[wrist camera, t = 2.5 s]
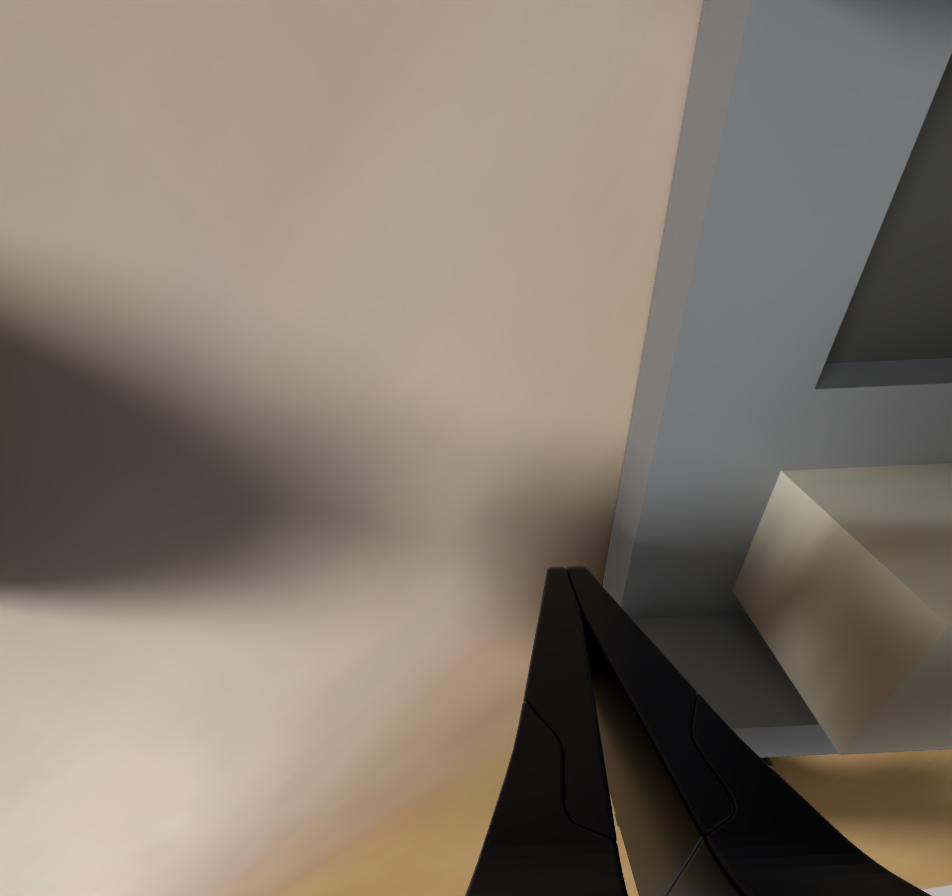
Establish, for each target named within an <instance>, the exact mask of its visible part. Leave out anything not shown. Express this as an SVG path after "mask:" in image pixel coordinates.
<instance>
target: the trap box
mask: <svg viewBox="0 0 952 896" xmlns="http://www.w3.org/2000/svg"><path fill="white" fill-rule="evenodd" d="M943 463H952V0H704V1H703V7H702V12H701V18H700V24H699V30H698V35H697V41H696V47H695V53H694V58H693V64H692V70H691V76H690V82H689V87H688V93H687V99H686V105H685V110H684V116H683V122H682V128H681V133H680V139H679V145H678V151H677V157H676V162H675V168H674V174H673V180H672V185H671V191H670V197H669V203H668V209H667V214H666V220H665V226H664V232H663V237H662V243H661V249H660V255H659V260H658V266H657V272H656V278H655V284H654V289H653V295H652V301H651V307H650V312H649V318H648V324H647V330H646V336H645V341H644V347H643V353H642V359H641V364H640V370H639V376H638V382H637V387H636V393H635V399H634V405H633V411H632V416H631V422H630V428H629V434H628V439H627V445H626V451H625V457H624V462H623V468H622V474H621V480H620V486H619V491H618V497H617V503H616V509H615V514H614V520H613V526H612V532H611V538H610V543H609V549H608V555H607V561H606V566H605V572H604V578H603V584H602V586H603V588H604V589H605V590H606V591H607V592H608V593H609V594H610V595H611V596H612V598H613V599H614V600H615V601H616V602H617V603H618V604H619V605H620V606H621V608H622V609H623V610H624V611H625V612H626V613H627V614H628V615H629V616H630V617H631V619H632V620H633V621H634V622H635V623H636V624H637V625H638V626H639V627H640V629H641V630H642V631H643V632H644V633H645V634H646V635H647V636H648V637H649V639H650V640H651V641H652V642H653V643H654V644H655V645H656V646H657V647H658V649H659V650H660V651H661V652H662V653H663V654H664V655H665V656H666V657H667V659H668V660H669V661H670V662H671V663H672V664H673V665H674V666H675V667H676V669H677V670H678V671H679V672H680V673H681V674H682V675H683V676H684V677H685V679H686V680H687V681H688V682H689V683H690V684H691V685H692V686H693V687H694V689H695V690H696V691H697V694H700V695H701V696H702V697H703V698H704V699H705V701H706V702H707V703H708V704H709V705H710V706H711V707H712V708H713V709H714V711H715V712H716V713H717V714H718V715H719V716H720V717H721V718H722V719H723V720H724V721H725V722H726V723H727V724H728V725H729V727H730V728H731V729H732V730H733V731H734V732H735V733H736V734H737V735H738V736H739V737H740V738H741V739H742V740H743V741H744V742H745V743H746V744H747V745H748V746H749V747H750V748H751V749H752V750H753V751H754V752H755V753H756V754H757V755H758V756H759V757H760V758H763V757H784V756H804V755H824V754H839V753H838V752H837V750H836V748H835V747H834V745H833V744H832V742H831V741H830V739H829V738H828V736H827V735H826V733H825V732H824V730H823V729H822V727H821V726H820V724H819V723H818V721H817V719H816V718H815V716H814V715H813V713H812V712H811V710H810V709H809V707H808V706H807V704H806V703H805V701H804V700H803V698H802V697H801V695H800V693H799V692H798V690H797V689H796V687H795V686H794V684H793V683H792V681H791V680H790V678H789V677H788V675H787V674H786V672H785V671H784V669H783V668H782V666H781V664H780V663H779V661H778V660H777V658H776V657H775V655H774V654H773V652H772V651H771V649H770V648H769V646H768V645H767V643H766V642H765V640H764V638H763V637H762V635H761V634H760V632H759V631H758V629H757V628H756V626H755V625H754V623H753V622H752V620H751V619H750V617H749V616H748V614H747V613H746V611H745V609H744V608H743V606H742V605H741V603H740V602H739V600H738V599H737V597H736V596H735V594H734V593H733V591H732V589H733V587H734V585H735V582H736V580H737V577H738V575H739V572H740V570H741V567H742V565H743V563H744V560H745V558H746V555H747V553H748V550H749V548H750V545H751V543H752V541H753V538H754V536H755V533H756V531H757V528H758V526H759V523H760V521H761V518H762V516H763V514H764V511H765V509H766V506H767V504H768V501H769V499H770V496H771V494H772V492H773V489H774V487H775V484H776V482H777V479H778V477H779V474H780V472H781V471H789V470H811V469H833V468H855V467H877V466H899V465H921V464H943ZM697 694H696V695H697Z"/></svg>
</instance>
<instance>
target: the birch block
mask: <svg viewBox="0 0 952 896" xmlns="http://www.w3.org/2000/svg"><path fill="white" fill-rule="evenodd" d="M732 591H733V593H734V594H735V596H736V597H737V599H738V600H739V602H740V603H741V605H742V606H743V608H744V609H745V611H746V613H747V614H748V616H749V617H750V619H751V620H752V622H753V623H754V625H755V626H756V628H757V629H758V631H759V632H760V634H761V635H762V637H763V638H764V640H765V642H766V643H767V645H768V646H769V648H770V649H771V651H772V652H773V654H774V655H775V657H776V658H777V660H778V661H779V663H780V664H781V666H782V668H783V669H784V671H785V672H786V674H787V675H788V677H789V678H790V680H791V681H792V683H793V684H794V686H795V687H796V689H797V690H798V692H799V693H800V695H801V697H802V698H803V700H804V701H805V703H806V704H807V706H808V707H809V709H810V710H811V712H812V713H813V715H814V716H815V718H816V719H817V721H818V723H819V724H820V726H821V727H822V729H823V730H824V732H825V733H826V735H827V736H828V738H829V739H830V741H831V742H832V744H833V745H834V747H835V748H836V750H837V752H838V753H839V755H843V754H863V753H884V752H904V751H925V750H945V749H952V463H943V464H921V465H899V466H877V467H855V468H833V469H811V470H789V471H781V472H780V474H779V477H778V479H777V482H776V484H775V487H774V489H773V492H772V494H771V496H770V499H769V501H768V504H767V506H766V509H765V511H764V514H763V516H762V518H761V521H760V523H759V526H758V528H757V531H756V533H755V536H754V538H753V541H752V543H751V545H750V548H749V550H748V553H747V555H746V558H745V560H744V563H743V565H742V567H741V570H740V572H739V575H738V577H737V580H736V582H735V585H734V587H733V589H732Z"/></svg>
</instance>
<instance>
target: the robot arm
mask: <svg viewBox="0 0 952 896" xmlns="http://www.w3.org/2000/svg"><path fill="white" fill-rule="evenodd" d="M696 694H697V691H696V690H695V689H694V687H693V686H692V685H691V684H690V683H689V682H688V681H687V680H686V679H685V677H684V676H683V675H682V674H681V673H680V672H679V671H678V670H677V669H676V667H675V666H674V665H673V664H672V663H671V662H670V661H669V660H668V659H667V657H666V656H665V655H664V654H663V653H662V652H661V651H660V650H659V649H658V647H657V646H656V645H655V644H654V643H653V642H652V641H651V640H650V639H649V637H648V636H647V635H646V634H645V633H644V632H643V631H642V630H641V629H640V627H639V626H638V625H637V624H636V623H635V622H634V621H633V620H632V619H631V617H630V616H629V615H628V614H627V613H626V612H625V611H624V610H623V609H622V608H621V606H620V605H619V604H618V603H617V602H616V601H615V600H614V599H613V598H612V596H611V595H610V594H609V593H608V592H607V591H606V590H605V589H604V588H603V586H602V585H601V584H600V583H599V582H598V581H597V580H596V579H595V578H594V576H593V575H592V574H591V573H590V572H589V571H588V570H587V569H586V568H585V567H583V566H571V567H567V568H566V569H565V568H564V567H550V568H548V570H547V574H546V579H545V585H544V590H543V596H542V601H541V607H540V612H539V618H538V623H537V629H536V634H535V639H534V645H533V650H532V656H531V661H530V667H529V672H528V678H527V683H526V689H525V694H524V700H523V704H522V709H521V715H520V720H519V725H518V730H517V734H516V739H515V743H514V748H513V751H512V755H511V758H510V762H509V765H508V769H507V772H506V776H505V779H504V782H503V785H502V788H501V791H500V794H499V797H498V800H497V804H496V807H495V810H494V813H493V816H492V819H491V822H490V825H489V828H488V831H487V834H486V837H485V841H484V844H483V847H482V850H481V853H480V856H479V859H478V862H477V865H476V868H475V870H474V873H473V876H472V879H471V881H470V884H469V887H468V889H467V892H466V894H465V896H628V894H627V890H626V887H625V882H624V878H623V873H622V868H621V863H620V857H619V852H618V846H617V843H616V839H617V838H616V832H615V825H614V819H613V813H612V806H611V800H610V795H611V798H612V802H613V806H614V809H615V817H616V821H617V825H618V826H619V827H620V830H621V834H622V838H623V841H624V845H625V848H626V852H627V855H628V859H629V862H630V866H631V869H632V873H633V877H634V880H635V884H636V887H637V891H638V894H639V896H931V895H929V894H927V893H926V892H924V891H922V890H920V889H919V888H917V887H915V886H913V885H912V884H910V883H908V882H906V881H905V880H903V879H901V878H900V877H898V876H896V875H895V874H893V873H891V872H890V871H888V870H887V869H885V868H884V867H882V866H881V865H880V864H878V863H877V862H875V861H874V860H873V859H871V858H870V857H869V856H867V855H866V854H865V853H863V852H862V851H861V850H860V849H858V848H857V847H856V846H855V845H854V844H852V843H851V842H850V841H849V840H848V839H847V838H845V837H844V836H843V835H842V834H841V833H840V832H839V831H838V830H837V829H835V828H834V827H833V826H832V825H831V824H830V823H829V822H828V821H827V820H826V819H825V818H824V817H823V816H822V815H821V814H820V813H819V812H817V811H816V810H815V809H814V808H813V807H812V806H811V805H810V804H809V803H808V802H807V801H806V800H805V799H804V798H803V797H802V796H801V795H799V794H798V793H797V792H796V791H795V790H794V789H793V788H792V787H791V786H790V785H789V784H788V783H787V782H786V781H785V780H784V779H782V778H781V777H780V776H779V775H778V774H777V773H776V772H775V767H774V765H773V763H772V761H771V760H770V758H769V757H763V758H760V757H759V756H758V755H757V754H756V753H755V752H754V751H753V750H752V749H751V748H750V747H749V746H748V745H747V744H746V743H745V742H744V741H743V740H742V739H741V738H740V737H739V736H738V735H737V734H736V733H735V732H734V731H733V730H732V729H731V728H730V727H729V725H728V724H727V723H726V722H725V721H724V720H723V719H722V718H721V717H720V716H719V715H718V714H717V713H716V712H715V711H714V709H713V708H712V707H711V706H710V705H709V704H708V703H707V702H706V701H705V699H704V698H703V697H702V696H701V695H700V694H697V695H696ZM609 791H610V793H609Z"/></svg>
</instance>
